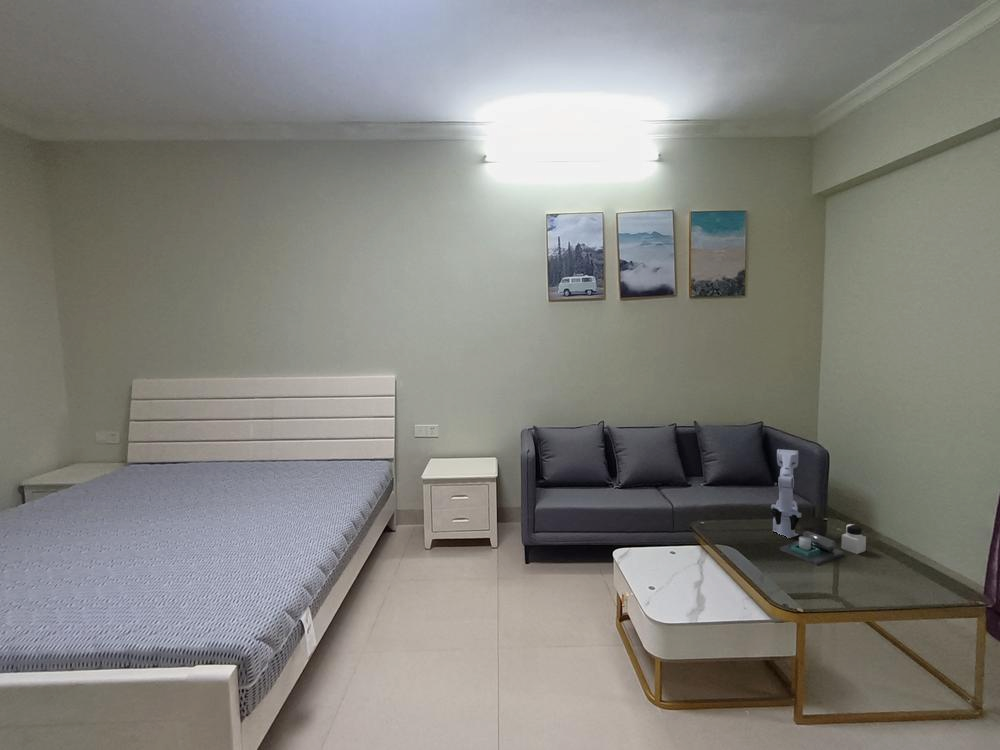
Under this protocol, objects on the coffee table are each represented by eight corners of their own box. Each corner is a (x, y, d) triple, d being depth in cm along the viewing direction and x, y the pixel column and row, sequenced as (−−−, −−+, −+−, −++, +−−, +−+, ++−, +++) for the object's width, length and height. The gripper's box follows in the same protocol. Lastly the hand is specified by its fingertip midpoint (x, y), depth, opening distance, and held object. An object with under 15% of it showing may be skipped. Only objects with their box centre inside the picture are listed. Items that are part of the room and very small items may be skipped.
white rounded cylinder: (796, 550, 237) (796, 537, 237) (803, 548, 239) (803, 535, 238) (806, 554, 233) (806, 541, 232) (813, 552, 234) (813, 539, 234)
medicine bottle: (866, 551, 237) (866, 526, 236) (857, 554, 234) (857, 529, 233) (850, 545, 243) (850, 521, 242) (841, 548, 240) (841, 524, 239)
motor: (779, 550, 242) (779, 535, 241) (806, 540, 250) (806, 527, 250) (816, 565, 226) (816, 550, 225) (844, 555, 234) (844, 540, 233)
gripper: (766, 497, 249) (766, 523, 251) (794, 506, 236) (794, 533, 238) (776, 494, 252) (776, 520, 254) (804, 503, 239) (804, 530, 240)
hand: (785, 526), depth 246 cm, fingers open, 7 cm apart
